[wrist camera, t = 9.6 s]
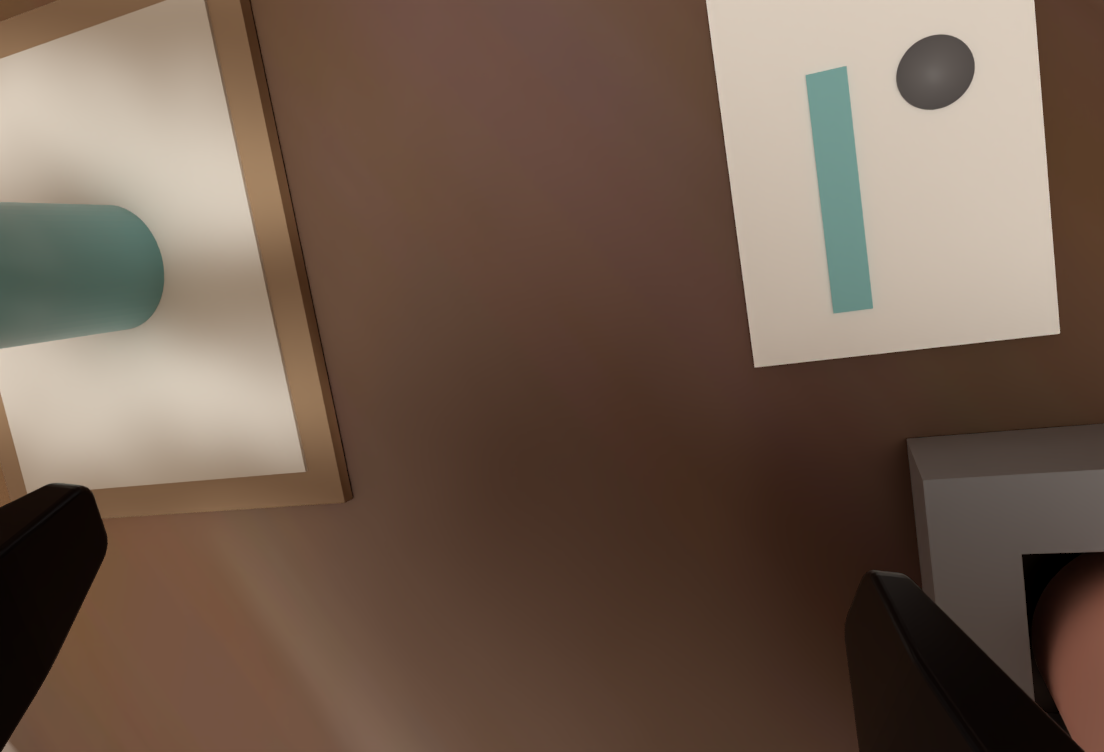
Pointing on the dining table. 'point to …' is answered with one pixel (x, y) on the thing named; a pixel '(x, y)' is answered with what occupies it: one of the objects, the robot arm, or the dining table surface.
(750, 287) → the card
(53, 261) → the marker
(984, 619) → the button box
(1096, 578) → the button
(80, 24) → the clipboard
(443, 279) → the dining table surface
